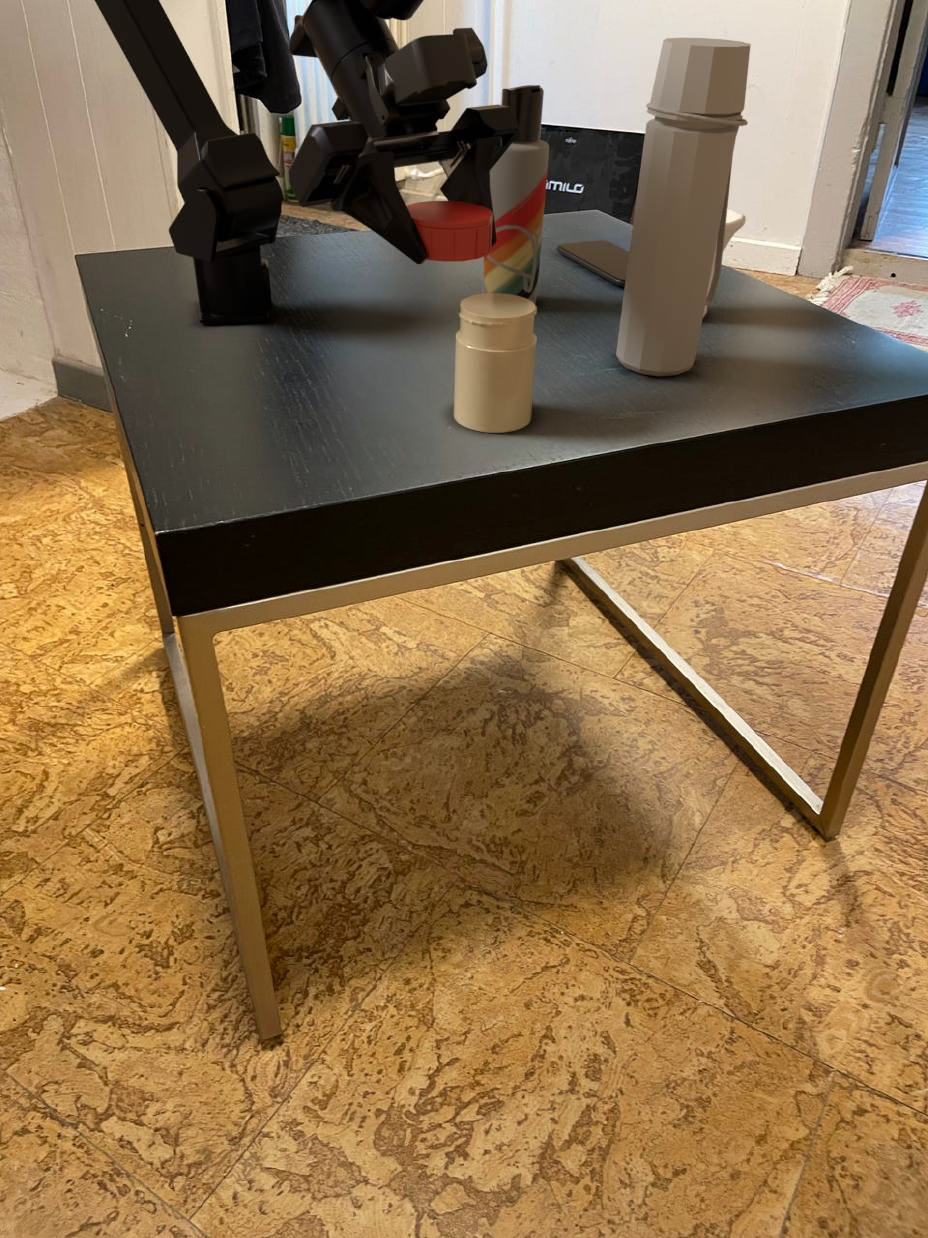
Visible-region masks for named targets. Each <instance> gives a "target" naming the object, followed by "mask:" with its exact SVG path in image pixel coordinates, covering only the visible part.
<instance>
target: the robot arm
mask: <svg viewBox="0 0 928 1238" xmlns="http://www.w3.org/2000/svg"><path fill="white" fill-rule="evenodd" d="M424 1H425V0H311V1H310V2H309V4H308V6H307V8H306V9H305V11H304V13H303V14H302V15H301V14H296V15H295V16H294V25H293V30H292V32H291V34H290V36H289V44H288V52H289V54H290V55H291V56H294V57H305V58H317V59H318V60H319V62H320V65H321V67H322V68H323V70H324V72H325V74H326V76H327V79H328V81H329V82H330V85H331V86H332V89H333V91H334V93H335V94H336V96H337V98H336V100H335V102H334V104H333V105H332V107H331V111H332V113H333V115H334V117H335V119H336V121H332V122H324V123H313V124H311V125H310V126H309V129H308V131H307V133H306V135H305V137H304V138H303V141H302V142H301V144H300V146H299V149H298V151H297V152H296V154H295V156H294V158H293V160H292V162H291V164H290V166H289V168H288V184H289V186H290V187H291V191H292V192H293V194H294V196H295V198H296V200H297V203H298V204H299V205H300V206H301V207H302V208H307V207H313V206H318V205H325V204H329V206H330V208H331V209H332V211H333V212H343V213H345V214H346V215H348V216H349V217H351V218H352V219H354V220H355V221H357V222H358V223H360V224H361V225H363V226H365V227H367V228H368V229H369V230H371V231H372V232H374V233H376V234H377V235H378V236H379V237H381V238H382V239H384V240H385V241H386V242H387V243H388V244H390V245H391V246H392V247H394V248H395V249H396V250H398V251H399V252H401V253H402V254H403V255H404V256H405V257H407V258H408V259H410V260H411V261H412V262H413V263H414V264H417V265H423V264H424V263H425V261H427V260H426V259H427V257H428V255H427V252H426V249H425V246H424V243H423V241H422V238H421V236H420V233H419V231H418V229H417V227H416V225H415V223H414V221H413V219H412V217H411V215H410V213H409V210H408V208H407V204H406V202H405V200H404V198H403V196H402V194H401V192H400V189H399V187H398V185H397V180H396V169H397V168H403V167H411V166H412V167H413V166H417V165H424V164H425V165H426V164H431V163H437V162H438V164H439V166H440V167H441V168H442V170H443V172H444V174H445V176H446V180H445V181H444V182H443V183H442V184H441V186H440V188H439V190H440V192H441V193H442V194H443V196H444V198H445V199H446V201H459V202H467V203H473V204H477V205H481V206H484V207H486V208H488V209H490V210H491V211H492V212H493V206H492V198H491V189H490V170H491V169H492V168H493V166H494V165H495V164H496V163H497V161H498V160H499V159H500V158H501V156H502V155H503V154H504V153H505V151H506V150H507V149H508V148H509V146H510V145H511V144H512V143H513V141H514V140H515V139H516V138H517V136H518V135H519V134H520V133H521V130H520V127H519V125H518V123H517V121H516V119H515V117H514V115H513V113H512V111H511V109H510V107H508V106H503V105H501V104H489V105H479V106H472V107H466V108H465V110H464V111H463V112H462V113H461V115H460V117H458V119H457V121H456V122H455V124H454V125H453V126H452V128H451V129H450V130H444V131H438V130H439V129H438V126H437V123H438V122H439V120H444V119H445V118H446V116H447V115H448V113H449V112H450V110H451V106H450V104H449V102H448V99H450V98H452V97H454V96H456V95H457V94H459V93H461V92H462V91H463V90H465V89H467V90H471V89H473V88H475V87H476V86H477V85H478V82H477V79H479V78H480V77H482V76H484V75H486V73H487V69H488V63H489V62H488V59H487V55H486V50H485V46H484V44H483V42H482V41H481V39H480V38H479V37H478V34H477V33H476V32H475V30H474V28H473V27H458V28H457V27H455V28H454V29H453V30H452V34H451V33H450V34H448V33H447V34H431V35H424V36H420V37H416V38H414V39H413V40H411V41H409V42H408V43H406V44H405V45H404V46H402V47H401V48H399V45H398V43H397V41H396V39H395V37H394V36H393V34H392V32H391V30H390V28H389V26H388V24H387V22H386V21H387V20H391V19H393V20H399V21H408V20H410V19H412V17H413V16H414V14H415V13H416V12H417V10H418V9H419V8H420V6H421V5H422V3H424ZM94 2H95V4H96V6H97V8H98V9H99V12H100V14H101V15H102V18H103V19H104V21H105V22H106V24H107V26H108V28H109V29H110V31H111V33H112V36H113V37H114V39H115V40H116V42H117V45H118V47H119V48H120V50H121V51H122V53H123V55H124V57H125V59H126V61H127V62H128V64H129V66H130V68H131V70H132V71H133V73H134V75H135V77H136V79H137V81H138V83H139V84H140V86H141V88H142V90H143V92H144V93H145V95H146V97H147V99H148V100H149V103H150V104H151V106H152V108H153V111H154V112H155V113H156V116H157V117H158V119H159V122H160V123H161V125H162V126H163V128H164V130H165V132H166V133H167V135H168V137H169V139H170V141H171V142H172V144H173V147H174V149H175V151H176V182H177V183H176V185H177V189H178V191H179V194H180V196H181V198H182V200H183V205H182V207H181V208H180V210H179V212H178V213H177V214H176V216H175V218H174V219H173V220H172V223H171V225H170V226H169V227H168V233H169V236H170V239H171V242H172V244H173V247H174V250H175V252H176V253H177V254H179V255H181V256H186V257H190V258H192V260H193V261H192V262H193V268H194V275H195V283H196V290H197V295H198V296H197V297H198V303H199V311H198V313H199V314H198V320H199V324H203V325H209V324H232V323H233V324H235V323H258V322H268V321H269V311H271V310H272V309H273V300H272V291H271V289H272V288H271V280H270V269H269V261H268V260H267V259H266V258H262V252H261V246H266V245H272V244H275V242H276V240H277V234H278V228H279V223H280V220H281V215H282V212H283V211H282V209H283V202H284V200H285V198H284V193H283V189H282V186H281V185H280V182H279V179H278V178H277V177H280V175H281V173H280V171H279V170H278V169H277V168H276V167H275V166H274V164H273V163H272V162H271V160H270V158H269V156H268V154H267V151H266V149H265V146H264V144H263V141H262V140H261V138H260V137H259V136H258V135H257V133H256V132H247V133H241V134H238V133H237V132H235V131H234V130H233V129H232V128H230V127H229V125H227V124H226V122H225V121H224V119H223V117H222V115H221V114H220V112H219V109H218V108H217V106H216V104H215V102H214V101H213V99H212V96H211V95H210V93H209V91H208V89H207V87H206V86H205V84H204V82H203V80H202V78H201V76H200V74H199V73H198V71H197V69H196V67H195V65H194V63H193V61H192V60H191V58H190V55H189V54H188V52H187V50H186V48H185V45H184V44H183V43H182V42H183V41H181V39H180V37H179V35H178V32H177V30H175V27H174V26H173V23H172V22H171V20H170V18H169V16H168V14H167V12H166V10H165V9H164V7H163V5H162V3H161V1H160V0H94ZM496 242H497V236H496V229H495V221H494V213H493V221H492V243H491V248H492V247H493V246H494V245H495V244H496Z"/></svg>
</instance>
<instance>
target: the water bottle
mask: <svg viewBox="0 0 928 1238" xmlns="http://www.w3.org/2000/svg"><path fill="white" fill-rule="evenodd" d="M751 45H752V44H751V43H749V42H744V41H740V40H733V39H731V40H730V39H722V38H707V37H706V38H705V37H667V38H665V39H664V40H663V41H662V45H661V49H660V55H659V59H658V62H657V63H658V64H657V68H656V73H655V77H654V82H653V86H652V92H651V96H650V100H649V103H646V105H645V107H646V108H647V109H646V113H647V114H649V115H651V116H654V118H652V119H651V118H650V120H648V121H647V122H646V124H645V130H644V138H643V146H642V153H641V162H640V169H639V178H638V185H637V192H636V199H635V200H636V201H635V207H634V214H633V222H632V229H631V237H630V245H629V260H628V267H627V275H626V282H625V287H624V290H623V299H622V305H621V306H622V307H621V314H620V322H619V327H618V337H617V343H616V344H617V345H616V351H615V352H616V353H615V356H616V357H617V359H618V361H619V362H620V364H622V366H623V367H625V368H626V369H627V370H630V371H633V372H635V373H638V374H640V375H645V376H652V377H673V376H677V375H680V374H683V373H685V372H688V371H689V370H691V368H693V366H694V364H695V360H696V356H697V350H698V346H699V340H700V335H701V330H702V325H703V324H702V323H703V319H704V317H703V314H704V308H705V305H707V306H709V305H713V302H714V299H715V296H716V294H717V290H718V286H719V282H720V279H721V274H722V267H723V255H724V251H723V246H724V236H725V226H726V217H727V209H728V207H729V197H730V187H731V176H732V166H733V157H734V149H735V145H736V141H737V140H736V139H737V135H738V132H739V129H740V127H743V126H747V125H748V123H749V122H748V121H747V119H744V118H743V117H744V116H743V115H742V112H743V111H744V110H745V104H746V94H747V85H748V74H749V64H750V54H751ZM717 237H718V240H717ZM716 243H717V249H716V258H715V268H714V274H713V278H712V282H711V287H710V290H709V293H708V295H707V292H708V286H709V281H710V276H711V270H712V265H713V259H714V254H715V248H716ZM706 297H707V298H706Z"/></svg>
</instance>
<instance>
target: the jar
mask: <svg viewBox="0 0 928 1238" xmlns="http://www.w3.org/2000/svg"><path fill="white" fill-rule="evenodd" d="M459 305H460V306H459V308H460V309H459V312H458V316H459V329H458V331H456V333H455V342H454V343H455V349H454V351H455V352H454V384H453V385H454V388H453V389H454V390H453V417H454V420H455V421H456V422H457V424H459V425H460V426H462V427H464V428H466V429H469V430H473V431H475V432H480V433H487V434H488V433H489V434H502V433H504V434H505V433H509V432H515V431H518V430H521V429H523V428H525V427H526V426H527V425H529V424H530V422H531V420H532V412H533V411H532V410H533V399H534V398H533V397H534V385H535V372H536V359H537V358H536V357H537V348H538V347H537V345H538V337H537V335H536V333H535V322H536V321H535V320H536V315H537V313H538V306H537V305H536V303H535V304H534V303H533V302H532V301H530V300H528V299H526V298H523V297H520V296H516V295H511V294H502V293H485V294H482V293H478V294H473V295H468V296H467V297H465V298H464V299H462V300H461V301H460V304H459Z"/></svg>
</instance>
